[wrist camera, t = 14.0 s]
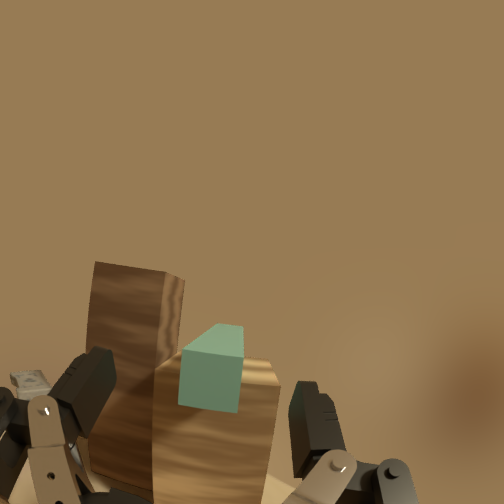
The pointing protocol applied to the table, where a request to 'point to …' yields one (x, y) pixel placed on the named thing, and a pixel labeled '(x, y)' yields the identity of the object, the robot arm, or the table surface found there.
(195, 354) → the bar
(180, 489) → the oak block
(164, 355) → the walnut stand
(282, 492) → the table surface
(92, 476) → the table surface
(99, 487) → the table surface
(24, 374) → the grey speckled block
